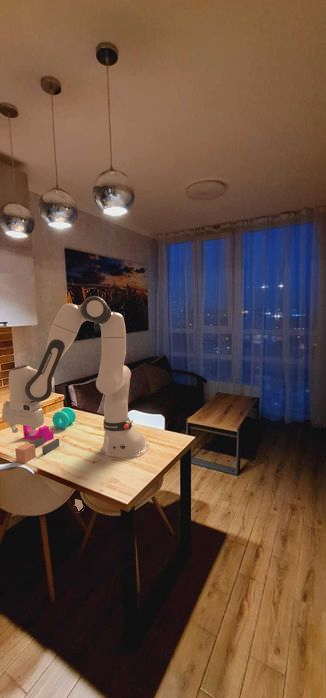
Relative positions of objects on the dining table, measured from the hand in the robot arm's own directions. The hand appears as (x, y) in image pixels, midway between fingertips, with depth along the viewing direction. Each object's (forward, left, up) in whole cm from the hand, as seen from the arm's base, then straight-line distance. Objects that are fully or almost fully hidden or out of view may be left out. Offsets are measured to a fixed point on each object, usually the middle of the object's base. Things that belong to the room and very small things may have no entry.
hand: (23, 433), depth 129 cm
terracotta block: (0, 0, -12) cm, 12 cm away
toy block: (+11, -20, -12) cm, 26 cm away
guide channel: (0, -11, -12) cm, 16 cm away
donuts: (+9, -38, -12) cm, 40 cm away
